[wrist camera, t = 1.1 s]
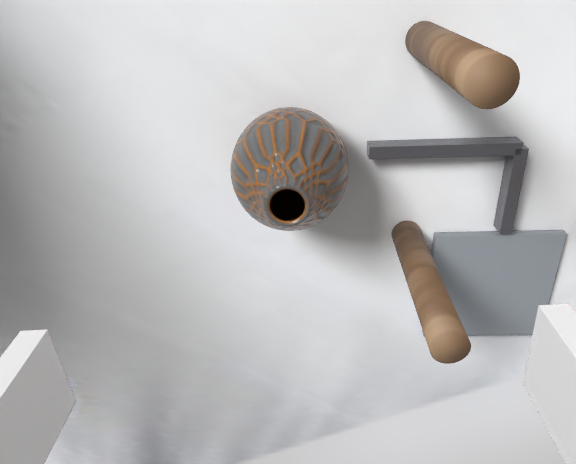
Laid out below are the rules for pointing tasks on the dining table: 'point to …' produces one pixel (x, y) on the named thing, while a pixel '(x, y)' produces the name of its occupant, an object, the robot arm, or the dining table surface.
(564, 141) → the dining table surface
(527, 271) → the pad
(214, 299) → the dining table surface
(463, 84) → the posts
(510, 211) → the grey l-shaped bracket
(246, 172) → the vase
